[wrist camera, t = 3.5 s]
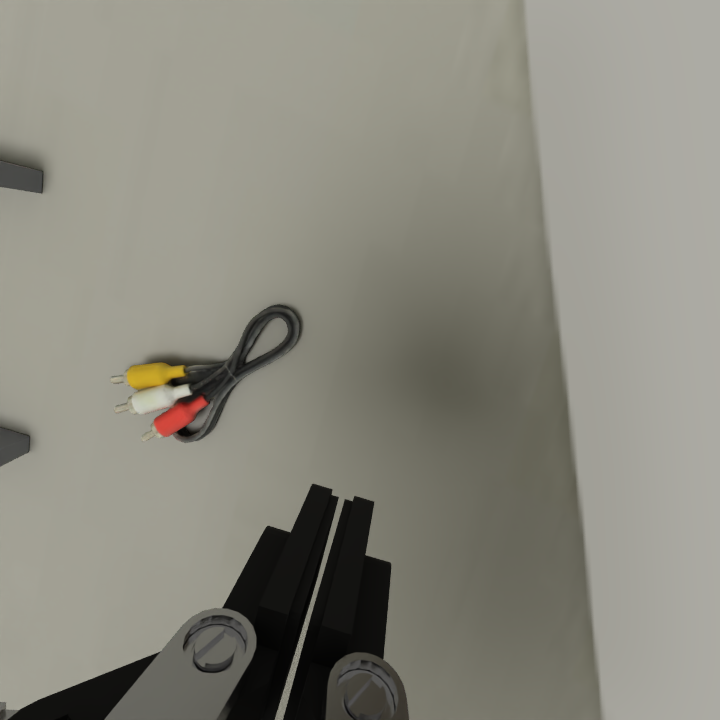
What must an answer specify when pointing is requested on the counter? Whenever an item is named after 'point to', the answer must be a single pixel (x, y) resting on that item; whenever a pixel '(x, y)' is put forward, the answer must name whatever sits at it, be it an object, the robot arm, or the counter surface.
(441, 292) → the counter surface
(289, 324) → the composite cable
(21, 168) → the cable holder
